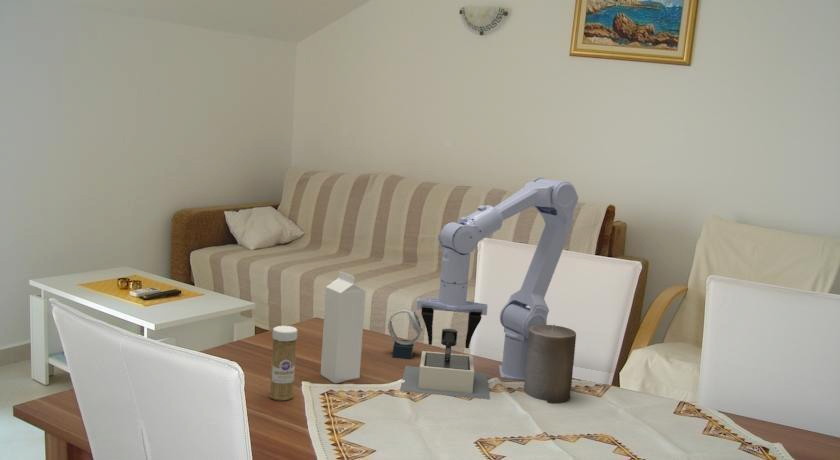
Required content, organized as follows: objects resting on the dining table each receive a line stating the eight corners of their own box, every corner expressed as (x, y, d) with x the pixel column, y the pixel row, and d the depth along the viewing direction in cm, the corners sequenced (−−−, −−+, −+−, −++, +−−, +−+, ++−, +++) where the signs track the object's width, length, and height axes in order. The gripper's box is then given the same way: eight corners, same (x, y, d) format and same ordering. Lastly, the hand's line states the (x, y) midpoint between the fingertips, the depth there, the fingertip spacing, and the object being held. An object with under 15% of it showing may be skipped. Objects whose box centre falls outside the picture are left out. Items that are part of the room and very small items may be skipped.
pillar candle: (576, 394, 154) (583, 324, 153) (560, 406, 146) (567, 333, 144) (533, 383, 159) (539, 316, 157) (515, 395, 151) (521, 324, 149)
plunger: (467, 359, 158) (470, 327, 157) (467, 372, 149) (470, 338, 148) (427, 355, 158) (429, 323, 157) (425, 368, 150) (428, 334, 149)
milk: (334, 384, 149) (341, 277, 146) (320, 374, 154) (326, 271, 151) (360, 379, 153) (367, 275, 150) (345, 370, 157) (351, 269, 154)
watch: (419, 361, 168) (423, 314, 166) (384, 358, 168) (388, 311, 167) (421, 354, 173) (424, 309, 172) (387, 351, 174) (390, 305, 172)
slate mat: (486, 374, 162) (486, 373, 162) (490, 401, 146) (490, 399, 146) (405, 367, 163) (405, 365, 163) (399, 392, 147) (399, 390, 147)
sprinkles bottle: (275, 402, 136) (279, 332, 135) (265, 394, 140) (268, 326, 138) (297, 399, 139) (302, 330, 137) (286, 391, 143) (290, 323, 141)
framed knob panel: (471, 375, 160) (472, 355, 159) (472, 393, 149) (474, 371, 148) (420, 370, 160) (422, 350, 159) (418, 388, 149) (419, 366, 148)
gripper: (418, 282, 148) (412, 347, 150) (490, 288, 147) (484, 353, 149) (419, 275, 155) (414, 338, 157) (488, 281, 154) (482, 344, 156)
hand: (448, 345), depth 153 cm, fingers open, 7 cm apart
